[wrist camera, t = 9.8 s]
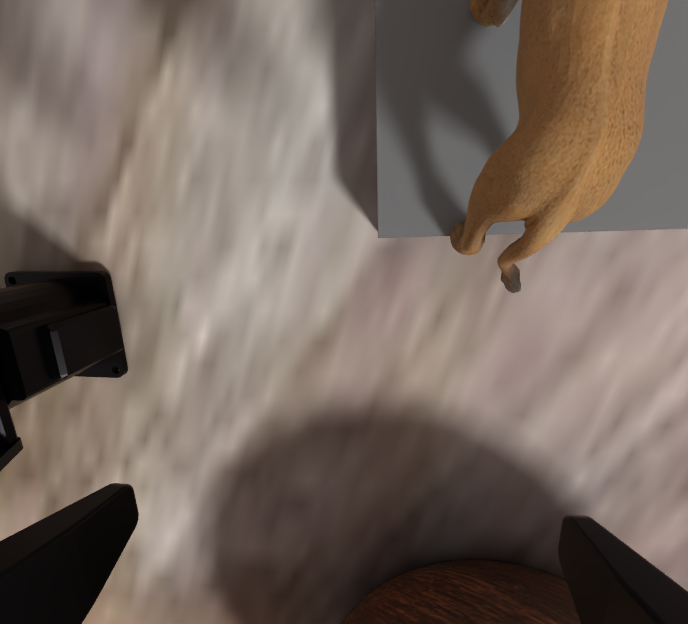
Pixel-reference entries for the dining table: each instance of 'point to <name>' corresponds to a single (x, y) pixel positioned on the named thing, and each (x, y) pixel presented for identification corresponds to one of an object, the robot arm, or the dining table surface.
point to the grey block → (503, 121)
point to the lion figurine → (563, 119)
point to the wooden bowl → (468, 596)
